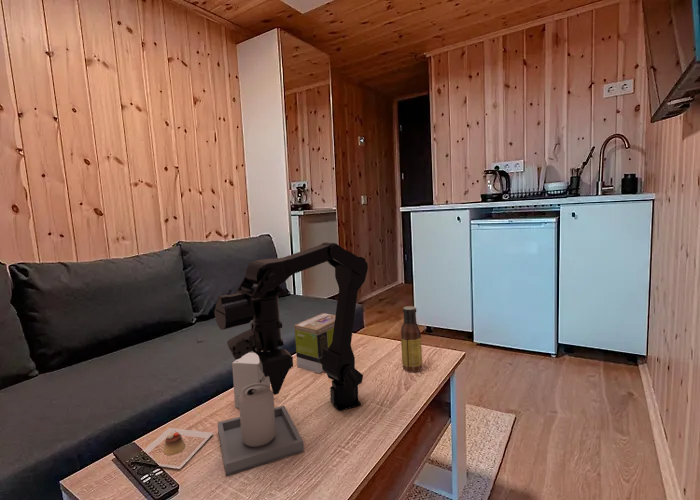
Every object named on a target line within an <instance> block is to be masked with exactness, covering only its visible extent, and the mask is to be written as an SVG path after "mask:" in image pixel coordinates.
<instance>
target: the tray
mask: <svg viewBox="0 0 700 500" xmlns="http://www.w3.org/2000/svg"><path fill="white" fill-rule="evenodd" d="M274 413H275V430H276V435H275V437H274V438H273V439H272V440H271V441H270V442H269V443H268V444H266V445H264V446H262V447H250V446H248V445H246V444H245V443H243V441H242V436H241V422H240V416H237V417H233V418H229V419H225V420H221V421H218V422H217V431H218V432H217V433H218V438H219V444H220V450H221V454H222V460H223V461H222V462H223V467H224V472H225V477H228V476H229V477H230V476H231V475H236V474H238V473H241V472H244V471H247V470H250V469H254V468H257V467H260V466H264V465H267V464H270V463H273V462H276V461H279V460H283V459H286V458H289V457H292V456H295V455H298V454H301V453H304V452H305V451H304V450H305V447H304V439H303V437H302V436H301V434H300V432H299V430H298V428H297V427H296V425H295V423H294V421H293V419H292V417H291V415H290V414H289V412H288V409H287V408H286V405H279V406H275V407H274Z"/></svg>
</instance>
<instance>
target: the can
mask: <svg viewBox="0 0 700 500" xmlns="http://www.w3.org/2000/svg"><path fill="white" fill-rule="evenodd" d="M274 396H275V395H274V394H273V391H272V388H271V385H270V386H269V385H267V384H265V383H255V384H251V385H248V386H246V387H245V388H243V390H242V392H241V395H240V397H239V408H238V409H239V417H240V422H241V436H242V441H243V443H245V444H246V445H248V446H250V447H262V446H264V445H266V444H268V443H269V442H270V441H271V440H272V439H273V438H274V437H275V435H276V430H275V413H274V408H275V400H274V399H275V398H274Z"/></svg>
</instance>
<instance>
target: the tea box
mask: <svg viewBox="0 0 700 500" xmlns="http://www.w3.org/2000/svg"><path fill="white" fill-rule="evenodd" d="M335 316H336V314H330V313H326V312H322V313H320V314H318V315H314V316H312V317H310V318H308V319H305V320H304V321H303V320H302V321H301V322H298V323H296V324H294V336H295V337H294V338H295V351H296V353H295V354H296V365H297V368H300V369H303V370H306V371H310V372H313V373H315V374H321V373H323V372H324V371H323V369H322V364H320V363H321V361H322V351H323V349H328V348H329V346H330V345H331V343H332V339H333V331H334V324H335Z"/></svg>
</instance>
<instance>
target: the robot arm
mask: <svg viewBox="0 0 700 500" xmlns="http://www.w3.org/2000/svg"><path fill="white" fill-rule="evenodd" d="M326 262H327V264H328V265H330V266H331V267H333V268H334V276H335V277H334V278H335V281H336V282H337V283H336V284H337V286H338V293H337V301H336V309H335V315H336V316H335V324H334V331H333V339H332V343H331V345H330V346H329V348H328V349H323V351H322V361H321V363H320V364H322V369H323V372H324V373H325V374H326V376H327V377H328V379H329V380H331V386H330V388H329V391H330V398H329V400H330V402H331V403H332V405H333V406H334V407H335V408H336V409H337V411H339V412H342V411H345V410H348V409H352V408H355V407H356V408H357V407H359V406H361V405H362V402H361V401H360V400H359V385H361V384H362V383H363V379H364V375H363V373H361V372H360V371H359V370H358V369H356V358H355V355H354V352H353V351H354V350H353V348H352V339H353V333H354V332H353V330H354V323H355V314H356V309H357V300H358V293H359V290H360V289H361V287H362V286H363V284H364V283H365V281H366V277H367V274H368V269H369V265H368V262H367V260H366V259H365V258H364V257H363V256H361V255H360V256H357V254H355V253H352V252H350V251H348V250H347V249H345V248H343V247H342V246H341V245H339V244H337V243H335V242H327V241H326V242H322V243H321V244H318V245H316V246H313V247H310V248H308V249H305V250H302V251H298V252H295V253H293V254H289V255H287V256H284V257H278V258H276V257H275V258H265V259H257V260H253V261H251V262H250V263H249V264H248V266H247V268H246V270H245V275H244V276H243V279H242V280H241V283H240V284H239V286H238V287H237V290H236V293H231V294H222V295H218V296H217V301H216V304H215V309H214V318H215V323H216V324H217V326H218V328H219V329H220V330H221V331H224V330H229V329H232V328H235V327H239V326H243V325H246V324H249V323H250V329H247V330H245V331H243V332H240V333H239V334H237V335H235V336H233V337H232V338H231V337H230V339H228V340H227V342H226V345H227V347H228V349H229V351H230V353H231V354H232V356H233V359H234V361H235V360H237V359H240V358H241V357H242V356H244V355H245V354H247V353H256V354H257V355H258V357H259V362H260V368H261V370H262V372H263V373H264V376H265V377H267V376H269V380H270V388H271V390H272V391H273V396H275V395H276V396H277V395H279V394H280V391H281V389H282V387H283V385H284V381H285V379H286V377H287V375H288V372H289V371H290V370H291V369H292V368H293V367H294V358H293V356H292V355H291V353H290V352H289V351H288V350H286V349H285V348H280V349H279V347H284V346H285V344H284V340H283V338H282V333H281V329H282V328H283V323H282V321H281V318H280V305H279V304H280V303H279V298H280V297H282V296H286V295H288V292H287V291H286V290H285V289H284V288H282V287H281V285H282V284H284V283H285V282H286V281H287V280H288V279H289V278H290V277H292V276H293V275H295V274H297V273H300V272H303V271H305V270H308V269H310V268H313V267H316V266H319V265H322V264H324V263H326ZM254 287H255V288H254Z"/></svg>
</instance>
